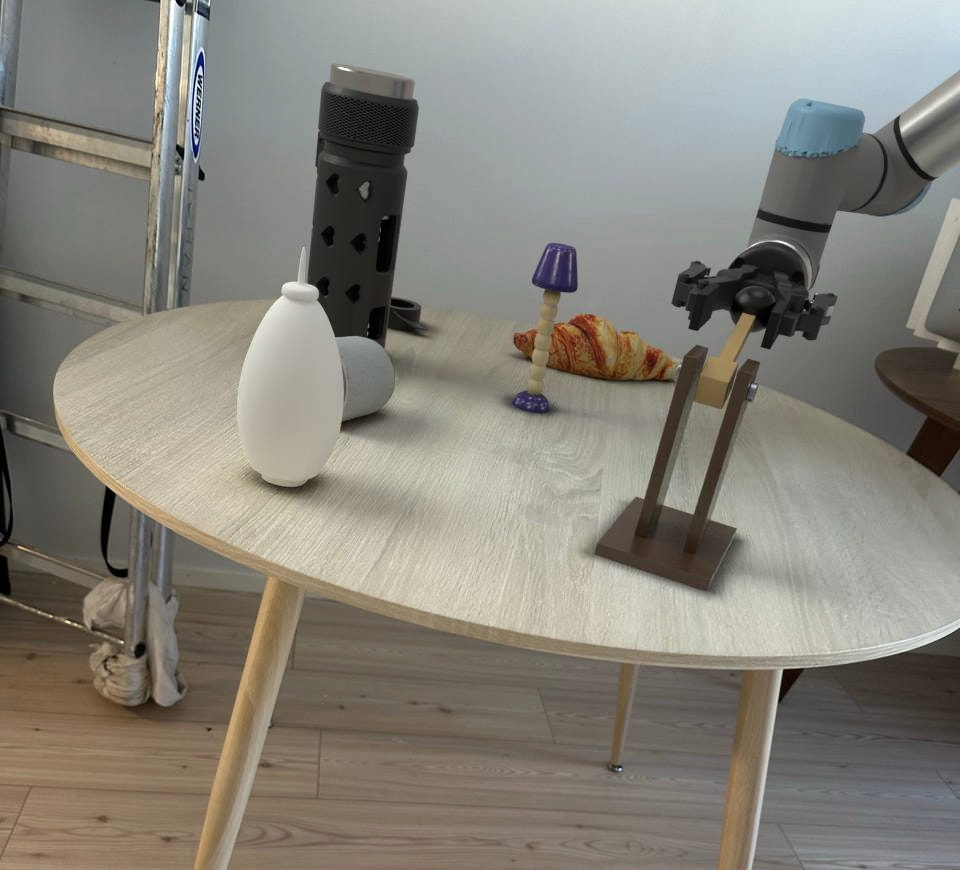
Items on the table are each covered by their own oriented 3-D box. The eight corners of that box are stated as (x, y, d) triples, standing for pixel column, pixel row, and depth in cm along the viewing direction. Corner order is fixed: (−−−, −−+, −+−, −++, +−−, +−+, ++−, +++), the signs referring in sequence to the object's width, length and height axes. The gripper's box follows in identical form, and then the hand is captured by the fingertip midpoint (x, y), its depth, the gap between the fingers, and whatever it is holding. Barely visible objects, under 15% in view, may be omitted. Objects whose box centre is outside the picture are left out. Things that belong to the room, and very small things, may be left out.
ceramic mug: (396, 421, 98) (406, 340, 94) (343, 437, 91) (351, 352, 88) (310, 389, 102) (316, 311, 98) (253, 403, 95) (258, 320, 92)
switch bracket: (631, 511, 89) (681, 329, 81) (732, 542, 87) (793, 359, 79) (592, 559, 79) (645, 357, 71) (705, 596, 77) (772, 392, 69)
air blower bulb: (315, 513, 77) (340, 268, 68) (217, 489, 78) (229, 242, 68) (346, 478, 84) (372, 250, 75) (255, 456, 84) (270, 228, 75)
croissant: (660, 402, 132) (668, 340, 131) (691, 388, 122) (700, 321, 122) (501, 376, 128) (509, 311, 127) (520, 359, 118) (528, 290, 117)
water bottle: (274, 349, 110) (349, 378, 107) (296, 56, 96) (383, 77, 93) (329, 338, 118) (402, 365, 114) (357, 65, 104) (441, 84, 100)
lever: (732, 312, 85) (742, 272, 82) (774, 323, 84) (786, 283, 82) (682, 406, 77) (691, 365, 74) (729, 419, 76) (740, 378, 73)
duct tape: (424, 321, 133) (428, 298, 131) (426, 342, 124) (430, 318, 123) (365, 311, 131) (368, 288, 130) (363, 332, 123) (366, 307, 121)
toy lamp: (498, 402, 108) (529, 238, 100) (529, 399, 111) (561, 239, 103) (529, 418, 106) (564, 251, 97) (560, 414, 109) (596, 252, 100)
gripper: (848, 345, 97) (835, 399, 78) (666, 300, 101) (610, 341, 82) (877, 264, 94) (870, 299, 74) (686, 220, 98) (632, 243, 78)
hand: (733, 321), depth 78 cm, fingers open, 5 cm apart
